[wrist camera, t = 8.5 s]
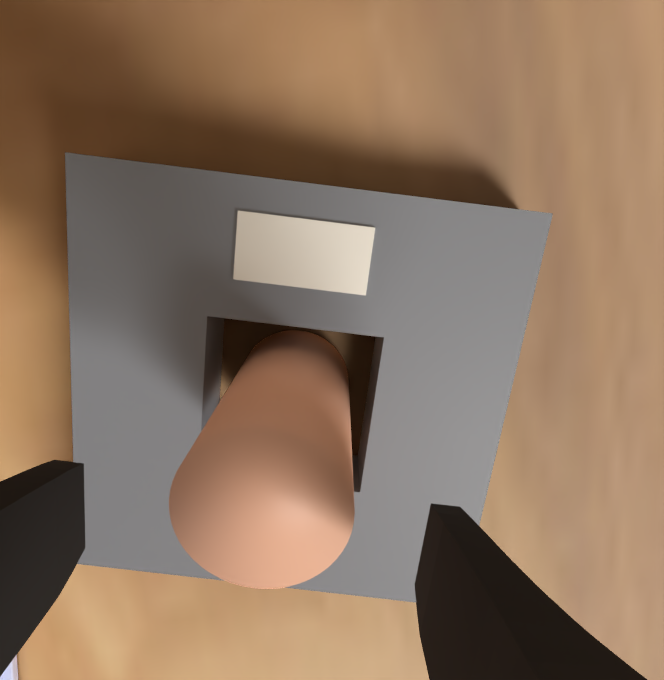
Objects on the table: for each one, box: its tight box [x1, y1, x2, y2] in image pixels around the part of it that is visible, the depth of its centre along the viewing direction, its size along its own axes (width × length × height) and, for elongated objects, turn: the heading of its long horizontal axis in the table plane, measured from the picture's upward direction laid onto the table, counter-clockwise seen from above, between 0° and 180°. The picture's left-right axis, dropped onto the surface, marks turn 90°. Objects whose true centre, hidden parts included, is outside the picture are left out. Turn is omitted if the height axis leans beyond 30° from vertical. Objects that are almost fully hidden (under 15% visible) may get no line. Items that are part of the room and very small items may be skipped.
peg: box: [169, 330, 355, 589], centre depth 14 cm, size 4×4×8 cm
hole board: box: [65, 152, 553, 602], centre depth 17 cm, size 14×14×3 cm
